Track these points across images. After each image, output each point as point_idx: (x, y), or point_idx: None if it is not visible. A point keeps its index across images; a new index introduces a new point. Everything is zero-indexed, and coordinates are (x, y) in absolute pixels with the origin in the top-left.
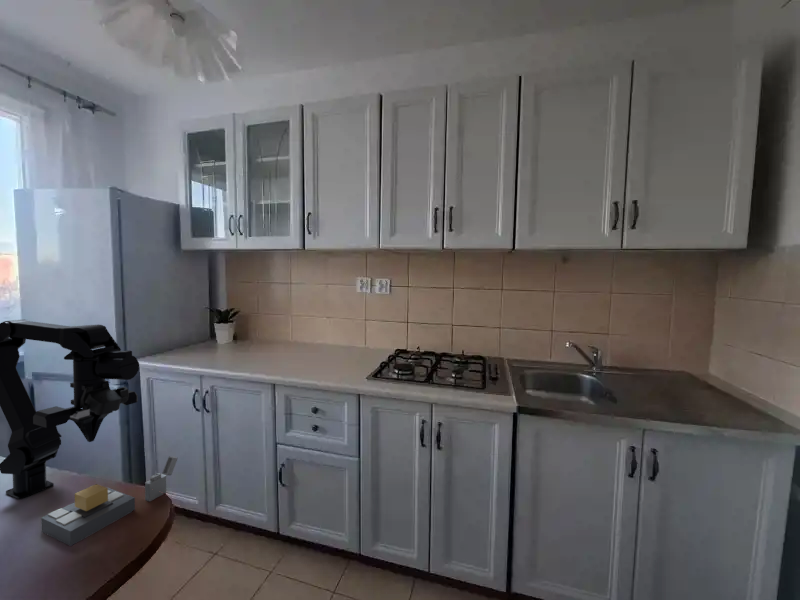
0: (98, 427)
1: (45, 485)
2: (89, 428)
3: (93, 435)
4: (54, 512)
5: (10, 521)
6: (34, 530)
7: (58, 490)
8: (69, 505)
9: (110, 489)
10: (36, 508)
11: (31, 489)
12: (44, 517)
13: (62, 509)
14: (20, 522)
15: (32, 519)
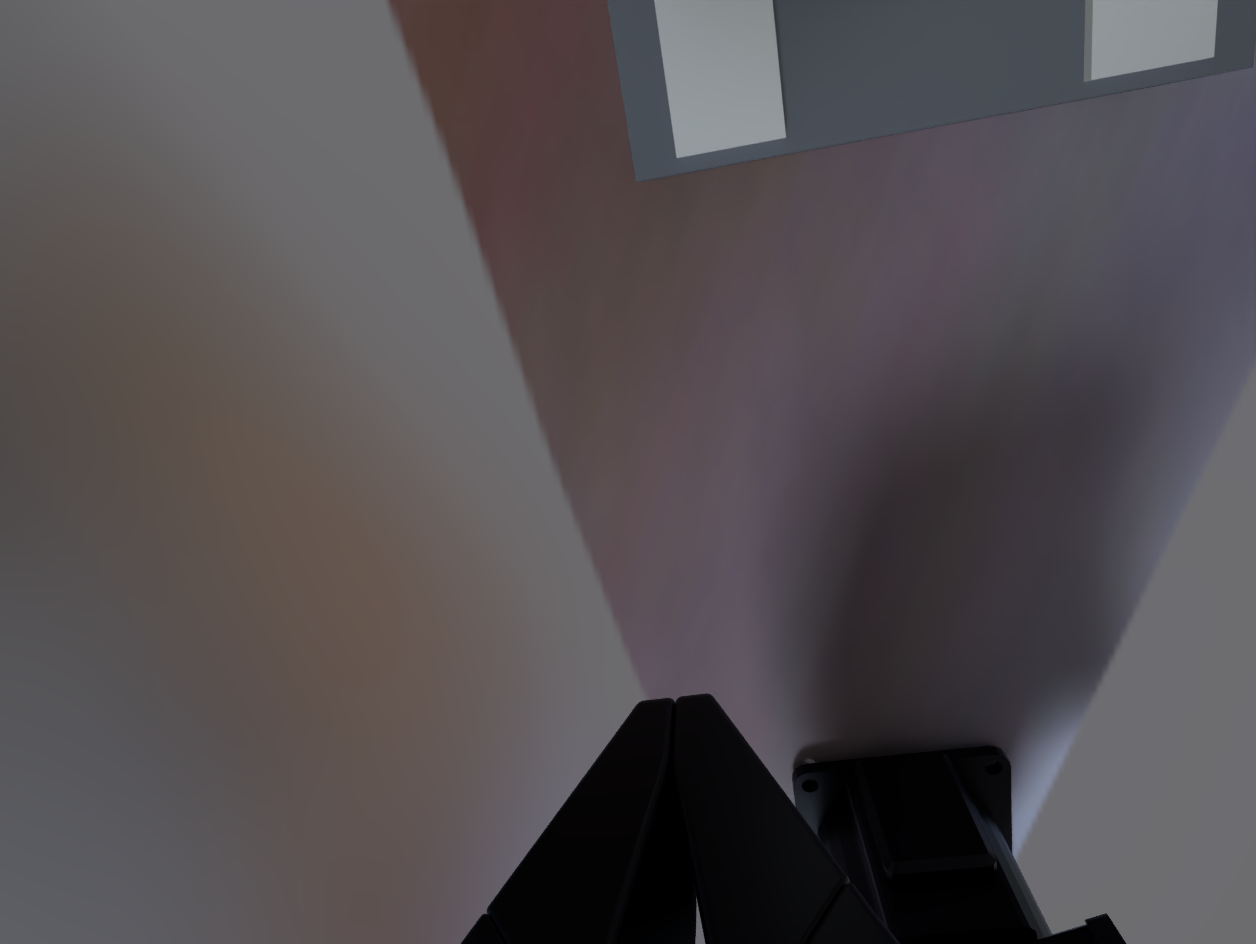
0: (520, 899)
1: (857, 774)
2: (786, 932)
3: (652, 766)
4: (1166, 33)
5: (1174, 483)
6: (1171, 170)
7: (801, 673)
8: (1005, 92)
9: (633, 88)
10: (999, 526)
11: (952, 773)
12: (1237, 43)
13: (1099, 27)
14: (1152, 405)
15: (1092, 375)
